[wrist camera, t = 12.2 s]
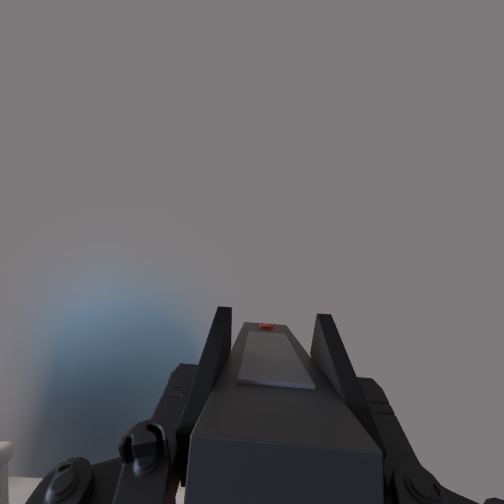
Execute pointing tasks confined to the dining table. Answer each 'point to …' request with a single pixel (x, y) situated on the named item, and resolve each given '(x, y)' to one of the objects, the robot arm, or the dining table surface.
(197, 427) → the remote
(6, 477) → the salt shaker
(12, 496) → the dining table surface
